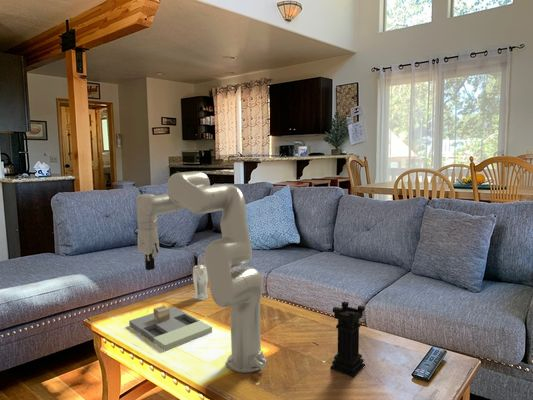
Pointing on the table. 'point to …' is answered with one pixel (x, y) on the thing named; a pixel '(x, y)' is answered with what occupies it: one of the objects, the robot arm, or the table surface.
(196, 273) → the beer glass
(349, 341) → the chess piece
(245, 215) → the robot arm
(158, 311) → the maple cube
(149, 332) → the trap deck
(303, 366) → the table surface
